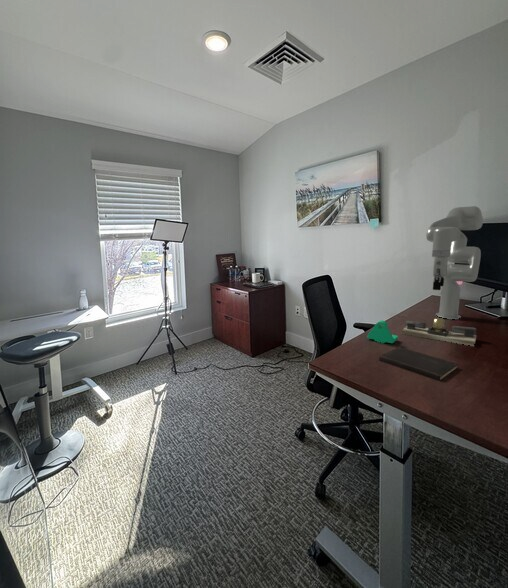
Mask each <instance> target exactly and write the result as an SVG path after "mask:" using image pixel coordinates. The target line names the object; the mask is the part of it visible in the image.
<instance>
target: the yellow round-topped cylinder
mask: <svg viewBox="0 0 508 588" xmlns="http://www.w3.org/2000/svg"><path fill="white" fill-rule="evenodd" d="M432 322H433V323H432V324H433V325H432V327H433V331H437V332H443V329H444V328H445V323H446V321H445V319H443V318H439V317H434V318H433V319H432Z"/></svg>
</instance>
